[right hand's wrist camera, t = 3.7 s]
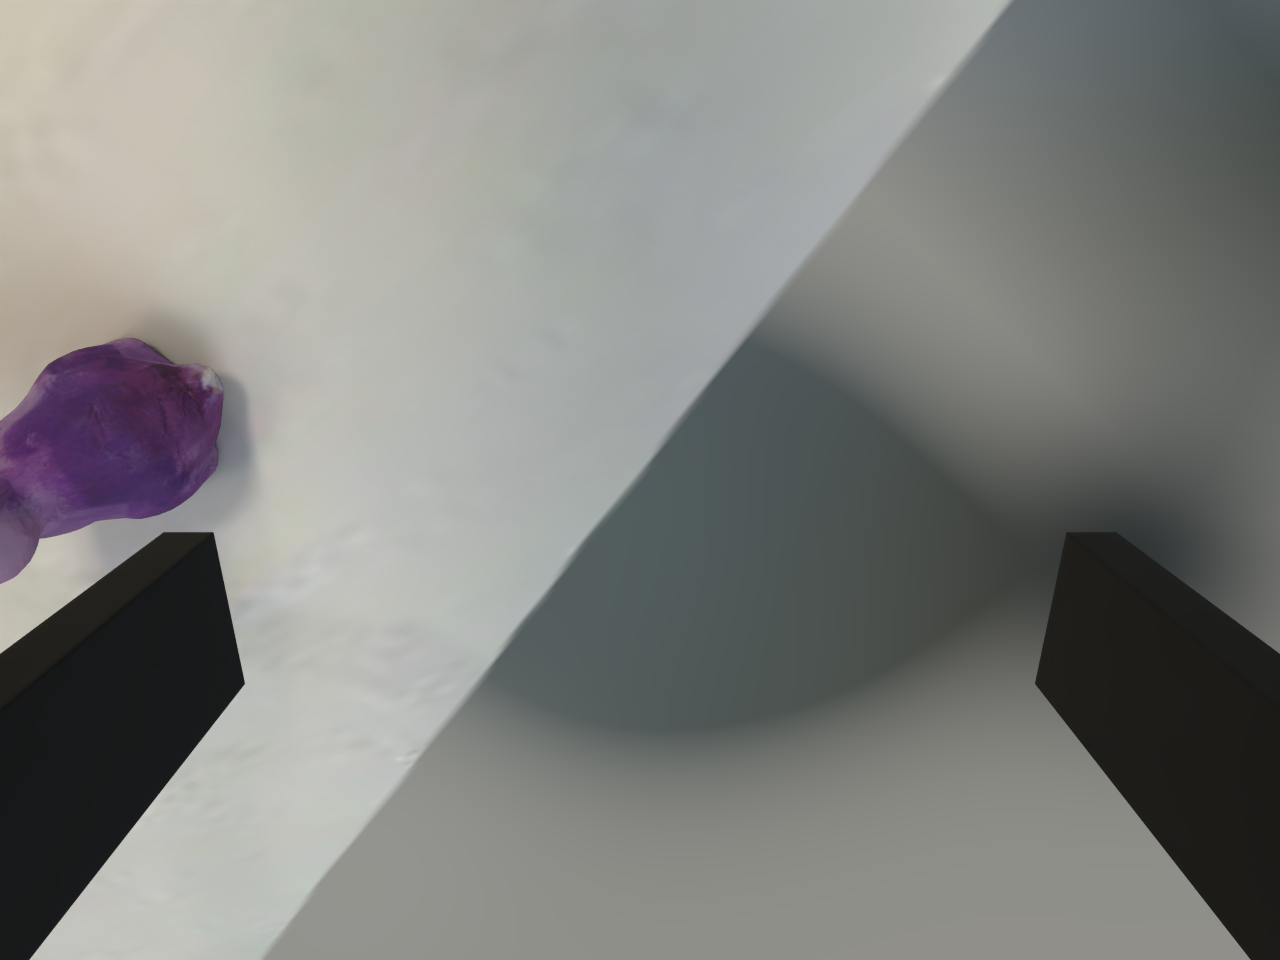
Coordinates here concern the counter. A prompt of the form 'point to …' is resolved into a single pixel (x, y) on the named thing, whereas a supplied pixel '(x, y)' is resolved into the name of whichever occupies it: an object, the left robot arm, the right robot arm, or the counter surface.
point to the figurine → (103, 444)
